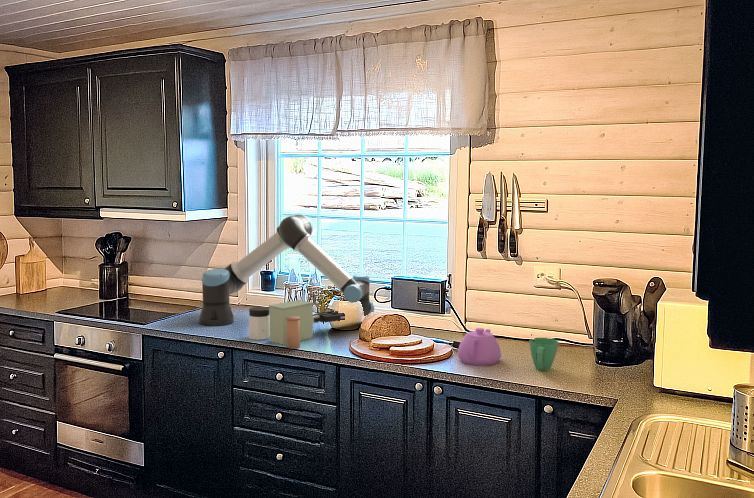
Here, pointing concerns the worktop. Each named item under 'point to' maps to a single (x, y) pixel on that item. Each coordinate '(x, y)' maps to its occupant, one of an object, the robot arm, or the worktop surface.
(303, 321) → the green tin
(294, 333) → the rust tin
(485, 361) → the teapot
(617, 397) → the worktop surface
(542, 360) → the mug
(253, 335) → the jar
